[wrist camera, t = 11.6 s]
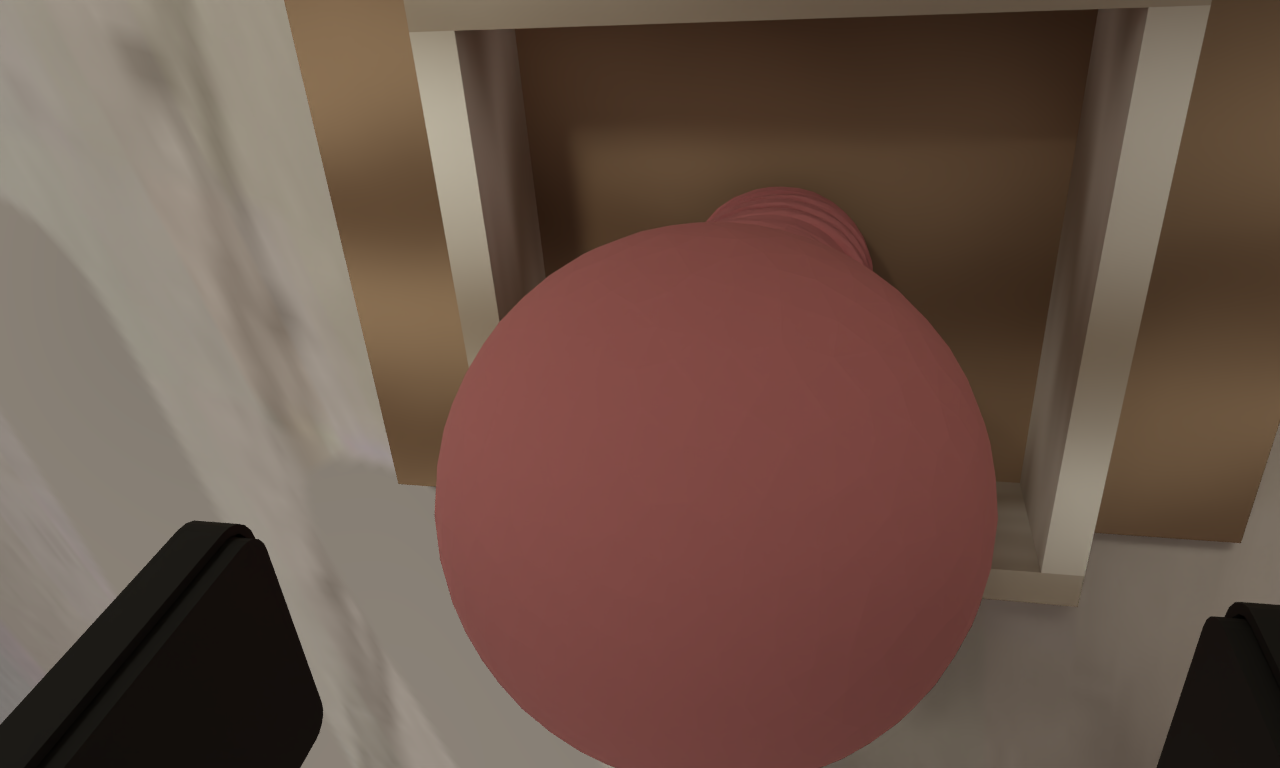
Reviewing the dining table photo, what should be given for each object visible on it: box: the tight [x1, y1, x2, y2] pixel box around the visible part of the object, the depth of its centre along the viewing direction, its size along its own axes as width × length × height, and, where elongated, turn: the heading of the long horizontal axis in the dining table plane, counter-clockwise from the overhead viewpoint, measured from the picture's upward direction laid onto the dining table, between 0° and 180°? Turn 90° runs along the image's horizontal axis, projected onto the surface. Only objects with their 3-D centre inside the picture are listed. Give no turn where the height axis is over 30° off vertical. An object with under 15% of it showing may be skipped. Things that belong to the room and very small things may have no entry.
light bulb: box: [435, 187, 998, 768], centre depth 15 cm, size 7×7×12 cm
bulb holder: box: [284, 0, 1280, 607], centre depth 19 cm, size 13×20×4 cm, turn 94°
